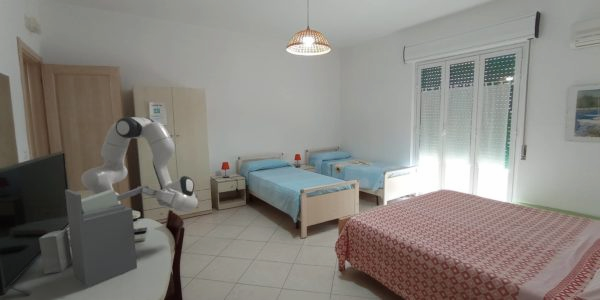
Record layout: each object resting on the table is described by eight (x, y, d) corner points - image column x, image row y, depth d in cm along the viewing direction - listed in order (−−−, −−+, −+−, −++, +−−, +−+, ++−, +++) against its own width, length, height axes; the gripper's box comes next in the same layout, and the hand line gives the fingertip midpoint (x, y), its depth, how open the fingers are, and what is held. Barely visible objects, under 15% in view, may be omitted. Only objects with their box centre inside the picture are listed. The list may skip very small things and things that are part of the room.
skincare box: (61, 272, 117) (57, 236, 116) (41, 274, 116) (37, 238, 114) (73, 262, 126) (69, 228, 124) (55, 264, 124) (51, 230, 123)
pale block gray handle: (81, 214, 111) (76, 200, 109) (146, 190, 130) (143, 178, 129) (84, 216, 108) (80, 202, 107) (150, 192, 128) (147, 179, 126)
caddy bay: (74, 276, 114) (64, 189, 110) (123, 258, 128) (116, 181, 124) (86, 288, 106) (76, 195, 102) (137, 268, 120) (130, 185, 116)
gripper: (159, 188, 143) (133, 179, 133) (181, 194, 131) (154, 184, 121) (153, 200, 142) (126, 192, 131) (175, 207, 129) (147, 198, 119)
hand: (140, 188), depth 126 cm, fingers closed on pale block gray handle, 2 cm apart
